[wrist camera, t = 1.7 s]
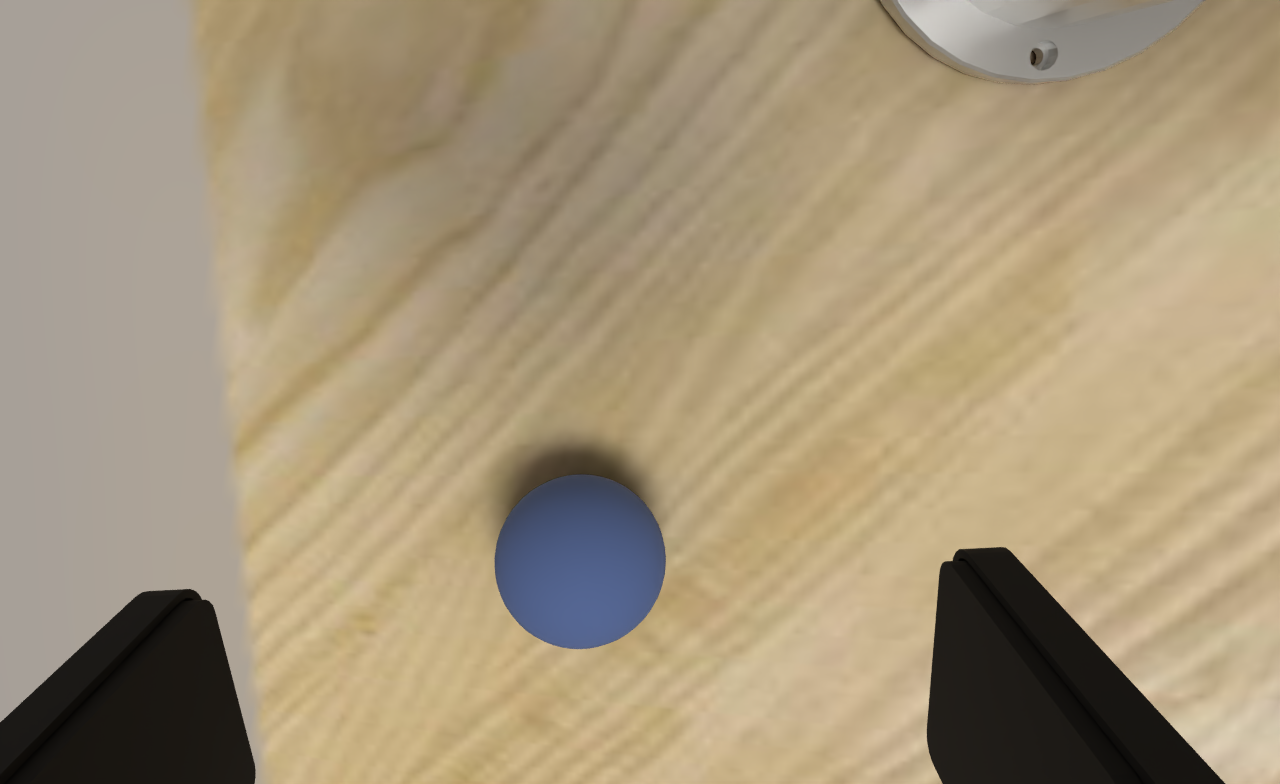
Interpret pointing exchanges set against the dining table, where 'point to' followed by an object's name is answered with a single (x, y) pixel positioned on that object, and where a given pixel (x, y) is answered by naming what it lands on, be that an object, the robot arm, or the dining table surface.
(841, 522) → the dining table surface
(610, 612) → the ball
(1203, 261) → the dining table surface
